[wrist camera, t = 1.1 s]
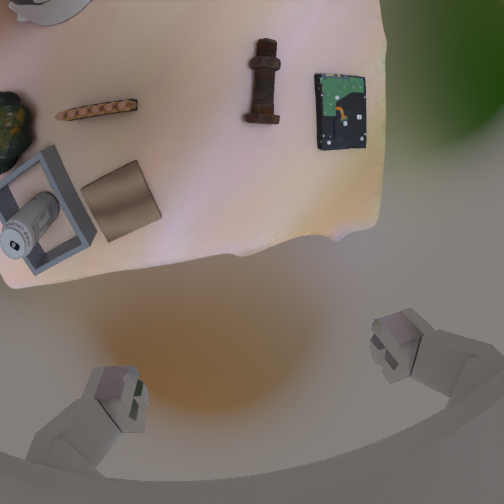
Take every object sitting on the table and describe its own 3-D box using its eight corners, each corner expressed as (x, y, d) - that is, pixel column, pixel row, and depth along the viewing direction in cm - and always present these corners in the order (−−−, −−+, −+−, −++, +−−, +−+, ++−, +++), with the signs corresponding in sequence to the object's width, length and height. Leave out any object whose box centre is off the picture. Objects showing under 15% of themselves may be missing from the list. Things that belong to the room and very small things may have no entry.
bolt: (264, 45, 40) (259, 122, 47) (243, 39, 37) (239, 122, 44) (291, 42, 37) (285, 125, 44) (270, 34, 34) (265, 124, 40)
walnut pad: (82, 187, 42) (80, 190, 41) (136, 159, 43) (135, 161, 42) (109, 239, 48) (108, 242, 47) (161, 214, 49) (161, 218, 48)
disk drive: (359, 145, 53) (357, 76, 46) (367, 148, 51) (366, 76, 43) (315, 148, 52) (311, 73, 44) (322, 151, 49) (319, 73, 41)
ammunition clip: (77, 119, 37) (50, 125, 27) (76, 108, 36) (49, 111, 26) (137, 110, 39) (126, 111, 29) (137, 99, 38) (126, 97, 28)
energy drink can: (39, 185, 39) (1, 217, 27) (64, 199, 42) (32, 236, 30) (29, 212, 41) (-7, 251, 28) (53, 226, 44) (23, 269, 31)
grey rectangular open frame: (2, 183, 36) (-13, 193, 31) (54, 145, 37) (40, 151, 32) (44, 259, 46) (34, 276, 41) (97, 231, 47) (90, 246, 42)
